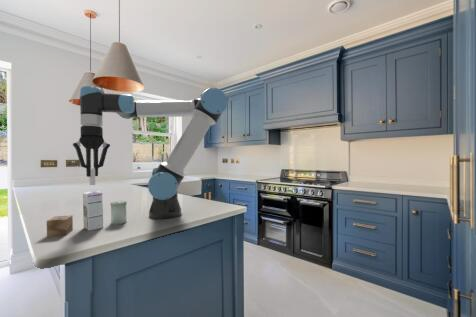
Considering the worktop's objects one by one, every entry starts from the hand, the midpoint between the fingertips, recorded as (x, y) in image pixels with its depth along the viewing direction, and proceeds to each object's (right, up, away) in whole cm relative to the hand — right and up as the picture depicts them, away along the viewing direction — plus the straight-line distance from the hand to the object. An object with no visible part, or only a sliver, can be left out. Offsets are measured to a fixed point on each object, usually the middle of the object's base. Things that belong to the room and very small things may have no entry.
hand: (92, 184), depth 94 cm
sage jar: (+7, -17, +8) cm, 20 cm away
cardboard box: (-8, -18, -6) cm, 21 cm away
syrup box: (0, -18, 0) cm, 18 cm away
